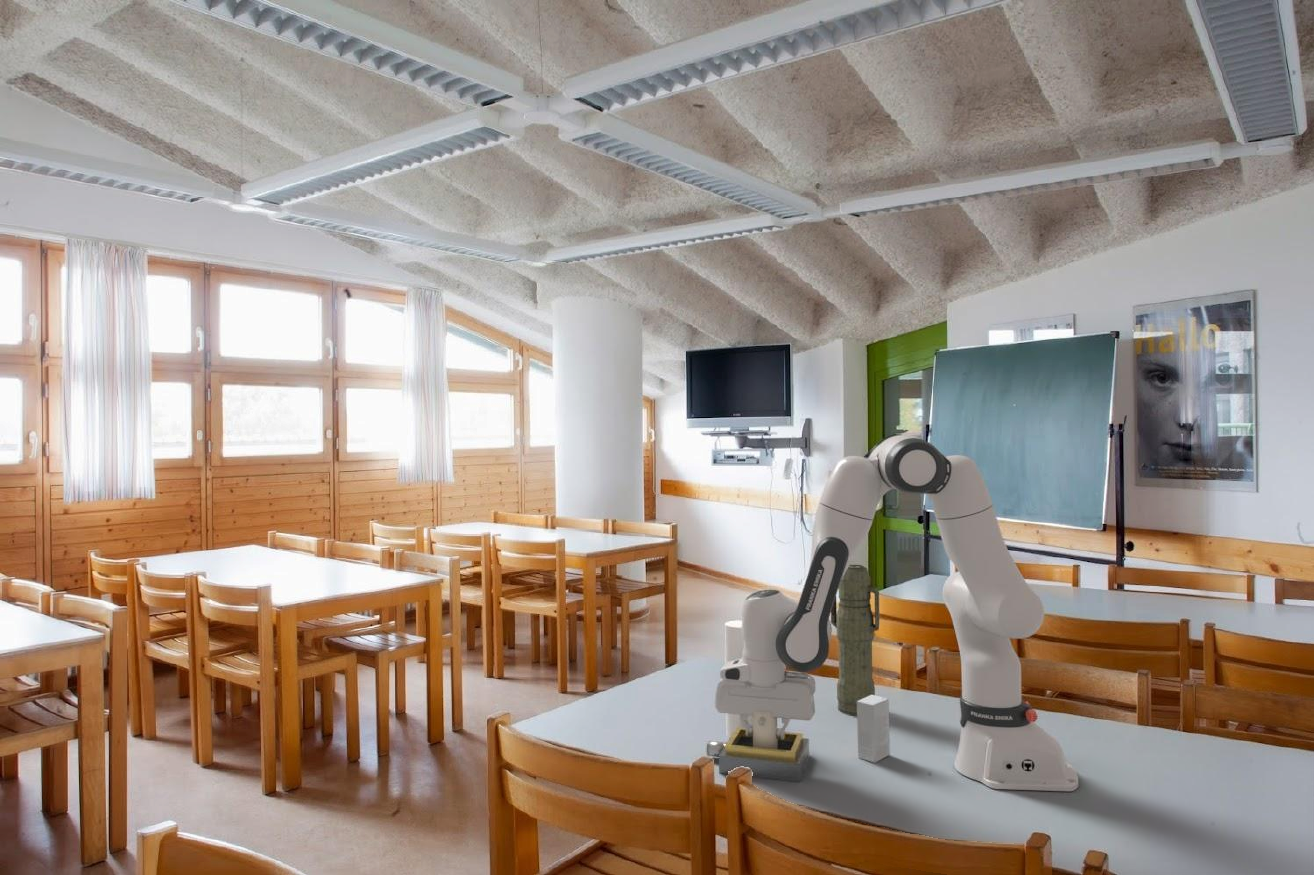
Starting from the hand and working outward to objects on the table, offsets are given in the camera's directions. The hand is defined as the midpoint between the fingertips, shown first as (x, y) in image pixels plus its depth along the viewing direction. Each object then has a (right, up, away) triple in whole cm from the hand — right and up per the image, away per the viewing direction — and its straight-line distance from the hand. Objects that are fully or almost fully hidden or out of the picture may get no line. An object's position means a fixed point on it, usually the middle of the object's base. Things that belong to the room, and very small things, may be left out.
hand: (765, 736), depth 174 cm
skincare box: (+23, -5, +3) cm, 24 cm away
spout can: (0, -4, 0) cm, 4 cm away
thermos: (+26, -5, +33) cm, 42 cm away
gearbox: (-2, -6, +1) cm, 6 cm away
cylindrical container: (-3, -6, +17) cm, 18 cm away
